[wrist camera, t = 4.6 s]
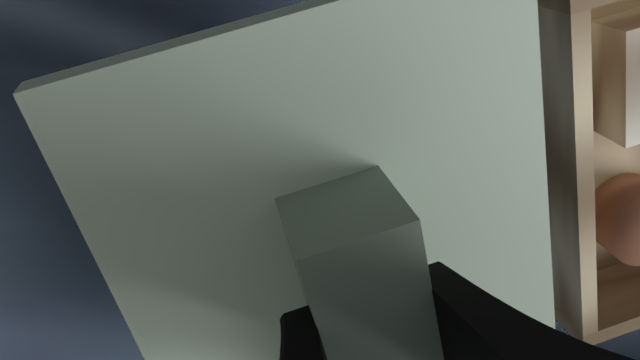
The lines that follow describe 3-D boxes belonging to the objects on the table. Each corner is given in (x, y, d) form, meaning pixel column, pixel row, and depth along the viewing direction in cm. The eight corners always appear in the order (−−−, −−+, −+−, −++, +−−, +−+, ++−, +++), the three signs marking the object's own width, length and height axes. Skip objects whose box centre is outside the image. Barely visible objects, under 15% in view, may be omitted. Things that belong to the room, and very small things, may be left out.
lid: (531, 367, 20) (613, 474, 16) (223, 478, 19) (236, 619, 15) (496, -62, 13) (616, -44, 10) (29, 70, 12) (-26, 145, 9)
